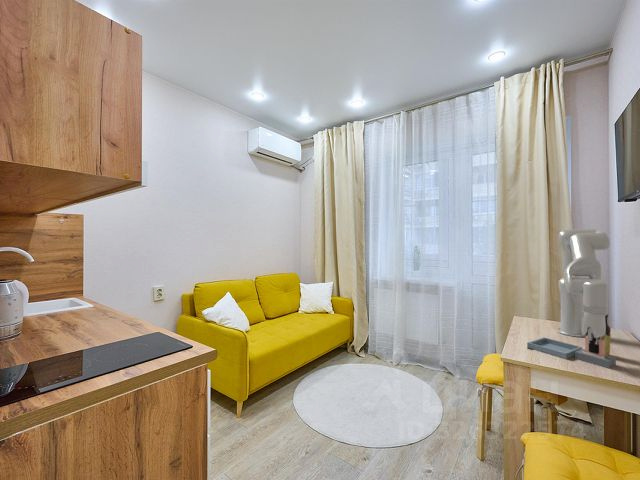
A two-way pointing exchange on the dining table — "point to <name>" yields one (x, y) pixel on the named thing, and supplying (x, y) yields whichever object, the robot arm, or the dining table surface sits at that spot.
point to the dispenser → (595, 359)
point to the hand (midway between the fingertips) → (594, 352)
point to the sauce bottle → (607, 337)
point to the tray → (553, 347)
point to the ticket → (601, 347)
